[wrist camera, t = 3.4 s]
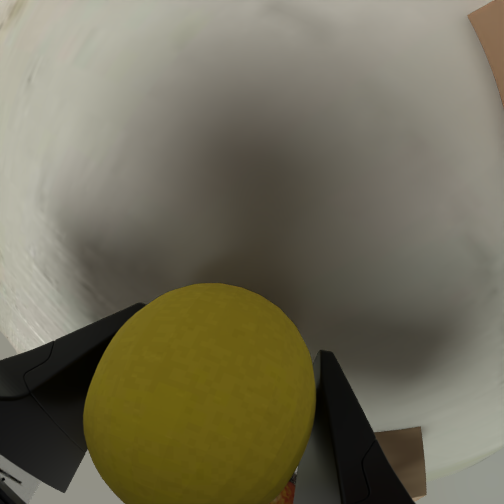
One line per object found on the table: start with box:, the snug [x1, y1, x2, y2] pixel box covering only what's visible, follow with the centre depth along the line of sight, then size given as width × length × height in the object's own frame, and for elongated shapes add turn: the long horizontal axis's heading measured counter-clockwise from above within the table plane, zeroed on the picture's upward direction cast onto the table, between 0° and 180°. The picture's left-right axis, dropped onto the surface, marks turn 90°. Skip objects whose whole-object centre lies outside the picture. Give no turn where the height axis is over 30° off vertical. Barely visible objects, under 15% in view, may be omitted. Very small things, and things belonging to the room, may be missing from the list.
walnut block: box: [374, 426, 426, 502], centre depth 11 cm, size 5×5×5 cm
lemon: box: [83, 283, 316, 504], centre depth 6 cm, size 6×6×8 cm
